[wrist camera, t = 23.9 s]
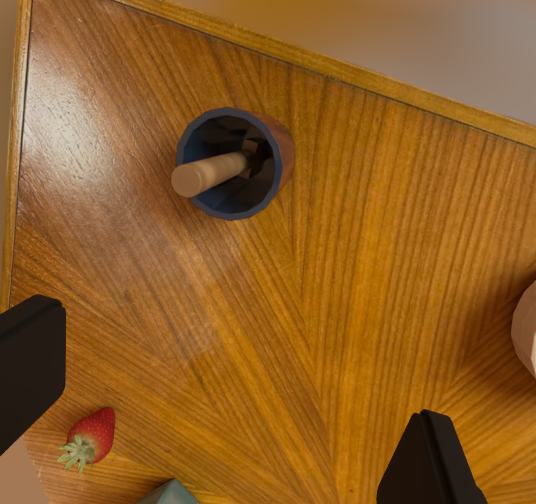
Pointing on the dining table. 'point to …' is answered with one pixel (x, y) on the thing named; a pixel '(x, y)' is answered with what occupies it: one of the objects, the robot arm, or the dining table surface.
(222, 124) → the holder
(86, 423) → the fruit
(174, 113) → the dining table surface
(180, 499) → the flower pot
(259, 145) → the stirring stick
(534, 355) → the bowl
